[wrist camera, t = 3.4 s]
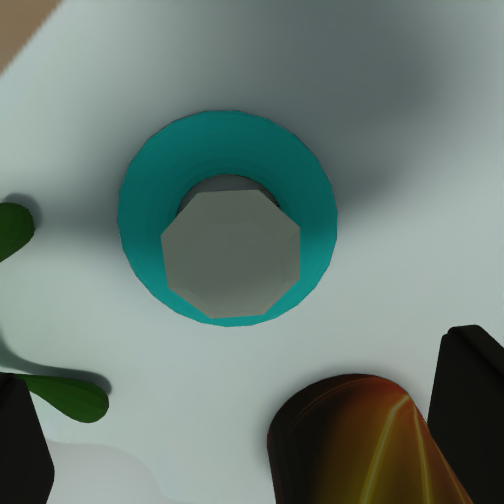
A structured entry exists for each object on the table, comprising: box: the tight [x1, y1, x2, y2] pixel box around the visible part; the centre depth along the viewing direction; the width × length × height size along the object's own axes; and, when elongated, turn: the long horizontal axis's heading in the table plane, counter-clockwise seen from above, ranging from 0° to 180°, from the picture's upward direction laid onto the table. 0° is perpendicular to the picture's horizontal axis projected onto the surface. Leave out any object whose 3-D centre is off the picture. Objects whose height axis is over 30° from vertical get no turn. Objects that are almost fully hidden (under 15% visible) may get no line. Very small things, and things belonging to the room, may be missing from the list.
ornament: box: [117, 111, 337, 327], centre depth 18 cm, size 11×4×10 cm
